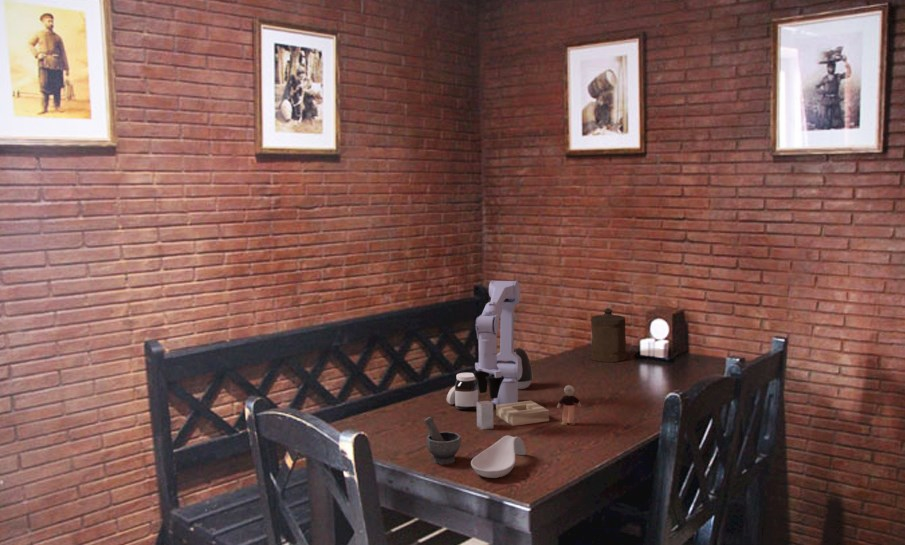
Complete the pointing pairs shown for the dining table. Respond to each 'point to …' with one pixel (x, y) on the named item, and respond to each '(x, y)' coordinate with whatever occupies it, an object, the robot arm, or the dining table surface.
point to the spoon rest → (498, 457)
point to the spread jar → (464, 392)
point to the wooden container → (608, 337)
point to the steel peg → (485, 415)
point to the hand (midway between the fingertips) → (488, 395)
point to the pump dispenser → (524, 369)
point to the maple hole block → (522, 413)
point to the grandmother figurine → (568, 405)
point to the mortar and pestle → (441, 443)
